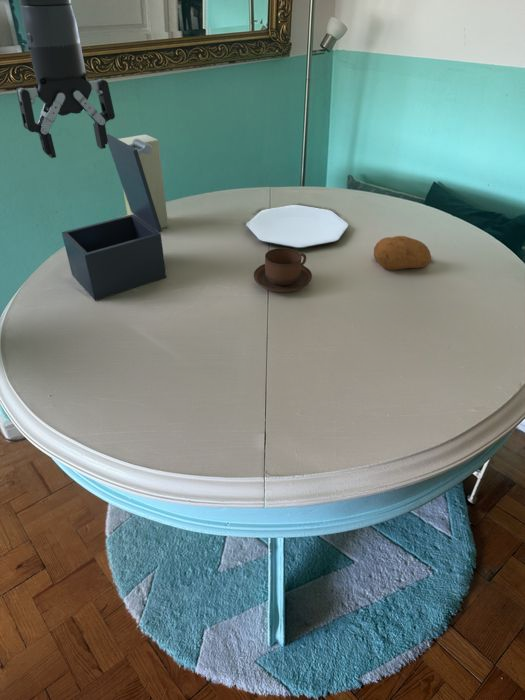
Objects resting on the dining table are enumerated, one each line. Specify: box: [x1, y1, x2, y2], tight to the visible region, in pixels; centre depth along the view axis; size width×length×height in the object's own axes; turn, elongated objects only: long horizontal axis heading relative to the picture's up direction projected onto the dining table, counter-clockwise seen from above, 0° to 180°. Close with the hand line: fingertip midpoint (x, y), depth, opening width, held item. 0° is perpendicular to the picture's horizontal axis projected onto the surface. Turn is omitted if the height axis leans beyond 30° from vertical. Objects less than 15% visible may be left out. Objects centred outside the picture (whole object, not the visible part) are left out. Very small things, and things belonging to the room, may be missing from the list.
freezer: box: [61, 214, 167, 302], centre depth 107 cm, size 16×13×10 cm
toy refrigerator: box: [117, 134, 169, 230], centre depth 125 cm, size 8×7×21 cm
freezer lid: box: [107, 133, 163, 233], centre depth 103 cm, size 17×13×5 cm
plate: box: [246, 204, 349, 249], centre depth 128 cm, size 24×24×2 cm
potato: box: [373, 235, 432, 271], centre depth 111 cm, size 7×13×7 cm, turn 96°
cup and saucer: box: [253, 247, 313, 293], centre depth 106 cm, size 12×12×6 cm
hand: (77, 152), depth 87 cm, fingers open, 8 cm apart
